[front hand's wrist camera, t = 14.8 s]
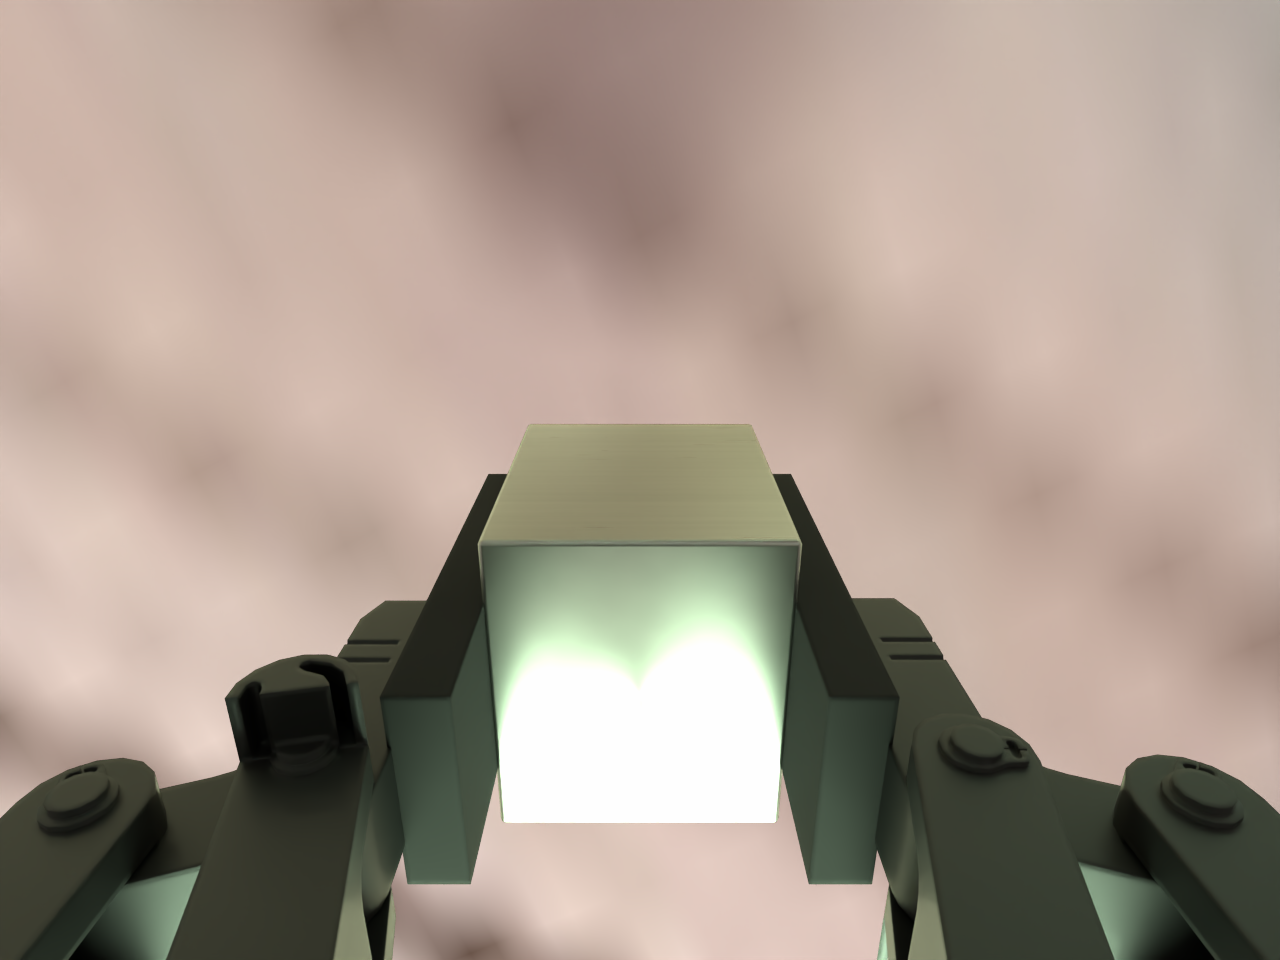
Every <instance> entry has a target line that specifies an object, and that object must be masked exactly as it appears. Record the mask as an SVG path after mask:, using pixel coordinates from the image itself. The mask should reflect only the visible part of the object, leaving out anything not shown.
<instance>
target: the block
mask: <svg viewBox="0 0 1280 960" xmlns="http://www.w3.org/2000/svg"><path fill="white" fill-rule="evenodd" d="M801 551H802V543H801V540H800V538H799V535H798V533H797V531H796V528H795V526H794V524H793V521H792V519H791V517H790V514H789V512H788V510H787V507H786V505H785V503H784V500H783V498H782V496H781V493H780V491H779V489H778V486H777V484H776V482H775V479H774V477H773V475H772V472H771V470H770V468H769V465H768V463H767V461H766V458H765V456H764V454H763V451H762V449H761V447H760V444H759V442H758V440H757V437H756V435H755V433H754V430H753V428H752V426H751V425H749V424H530V425H528V428H527V430H526V432H525V435H524V437H523V439H522V442H521V444H520V446H519V449H518V451H517V453H516V456H515V458H514V460H513V463H512V465H511V467H510V470H509V472H508V474H507V477H506V479H505V481H504V484H503V486H502V488H501V491H500V493H499V495H498V498H497V500H496V502H495V505H494V507H493V509H492V512H491V514H490V516H489V519H488V521H487V523H486V526H485V528H484V530H483V533H482V535H481V537H480V540H479V542H478V553H479V565H480V576H481V588H482V600H483V603H484V615H485V627H486V639H487V650H488V662H489V674H490V685H491V697H492V709H493V721H494V732H495V744H496V756H497V768H498V769H497V776H498V787H499V799H500V811H501V818H502V821H503V822H554V823H774V822H777V820H778V817H779V805H780V794H781V782H782V762H783V750H784V738H785V727H786V715H787V703H788V691H789V680H790V668H791V656H792V645H793V633H794V621H795V609H796V603H797V597H798V585H799V574H800V562H801Z"/></svg>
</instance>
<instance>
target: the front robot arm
mask: <svg viewBox="0 0 1280 960" xmlns="http://www.w3.org/2000/svg"><path fill="white" fill-rule="evenodd" d="M772 475H773V477H774V479H775V482H776V484H777V486H778V489H779V491H780V493H781V496H782V498H783V500H784V503H785V505H786V507H787V510H788V512H789V514H790V517H791V519H792V521H793V524H794V526H795V528H796V531H797V533H798V535H799V538H800V540H801V543H802V551H801V562H800V574H799V585H798V597H797V603H796V609H795V621H794V633H793V645H792V656H791V668H790V680H789V691H788V703H787V715H786V727H785V738H784V750H783V762H782V772H783V776H784V780H785V784H786V789H787V793H788V797H789V801H790V806H791V810H792V814H793V818H794V823H795V827H796V831H797V835H798V840H799V844H800V848H801V852H802V857H803V861H804V865H805V870H806V874H807V878H808V882H809V884H872V880H873V873H874V867H875V860H876V853H877V850H878V853H879V856H880V859H881V862H882V865H883V868H884V870H885V873H886V876H887V879H888V882H889V888H888V895H887V901H886V907H885V913H884V919H883V926H882V932H881V938H880V944H879V951H878V957H877V960H1280V814H1279V813H1278V812H1277V811H1276V810H1275V809H1274V808H1273V807H1272V806H1271V805H1270V804H1269V803H1268V802H1267V801H1266V800H1265V799H1263V798H1262V797H1261V796H1260V795H1258V794H1257V793H1256V792H1254V791H1253V790H1252V789H1251V788H1249V787H1248V786H1247V785H1245V784H1244V783H1243V782H1241V781H1240V780H1238V779H1236V778H1234V777H1232V776H1230V775H1228V774H1226V773H1224V772H1222V771H1220V770H1218V769H1217V768H1215V767H1213V766H1210V765H1206V764H1204V763H1201V762H1197V761H1194V760H1190V759H1187V758H1184V757H1175V756H1166V755H1153V756H1147V757H1142V758H1137V759H1136V760H1135V761H1134V762H1133V763H1132V764H1130V765H1129V766H1128V767H1127V768H1126V770H1125V773H1124V777H1123V780H1122V784H1121V786H1118V785H1114V784H1109V783H1105V782H1100V781H1096V780H1091V779H1087V778H1082V777H1078V776H1073V775H1069V774H1065V773H1062V772H1058V771H1055V770H1051V769H1048V768H1045V767H1043V766H1042V764H1041V762H1040V760H1039V758H1038V757H1037V755H1036V754H1035V752H1034V751H1033V749H1032V748H1031V746H1030V745H1029V744H1028V743H1027V742H1026V741H1024V740H1023V739H1022V738H1021V737H1019V736H1018V735H1017V734H1016V733H1014V732H1013V731H1012V730H1010V729H1008V728H1006V727H1004V726H1002V725H999V724H997V723H995V722H993V721H991V720H989V719H985V718H982V717H981V716H980V714H979V712H978V711H977V709H976V708H975V706H974V704H973V703H972V701H971V700H970V698H969V696H968V695H967V693H966V691H965V690H964V688H963V687H962V685H961V683H960V682H959V680H958V678H957V677H956V675H955V674H954V672H953V670H952V669H951V667H950V666H949V664H948V662H947V661H946V660H943V654H942V653H941V651H940V649H939V648H938V646H937V645H936V643H935V642H933V641H932V636H931V635H930V633H929V632H928V630H927V628H926V627H925V625H924V624H923V622H922V620H921V619H920V617H919V616H918V615H916V614H915V613H914V612H912V611H911V610H910V609H908V608H907V607H905V606H904V605H903V604H901V603H900V602H899V601H897V600H896V599H894V598H851V596H850V594H849V592H848V590H847V588H846V586H845V584H844V582H843V580H842V578H841V576H840V574H839V572H838V570H837V568H836V566H835V563H834V561H833V559H832V557H831V555H830V553H829V551H828V549H827V547H826V545H825V543H824V541H823V539H822V537H821V535H820V533H819V531H818V529H817V527H816V525H815V522H814V520H813V518H812V516H811V514H810V512H809V510H808V508H807V506H806V504H805V502H804V500H803V498H802V496H801V494H800V492H799V490H798V488H797V486H796V484H795V481H794V479H793V477H792V475H791V474H772ZM506 477H507V474H488V476H487V478H486V480H485V482H484V484H483V487H482V489H481V491H480V493H479V495H478V497H477V499H476V501H475V503H474V505H473V507H472V509H471V511H470V513H469V515H468V517H467V519H466V521H465V523H464V525H463V527H462V530H461V532H460V534H459V536H458V538H457V540H456V542H455V544H454V546H453V548H452V550H451V552H450V554H449V556H448V558H447V560H446V562H445V564H444V566H443V568H442V570H441V573H440V575H439V577H438V579H437V581H436V583H435V585H434V587H433V589H432V591H431V593H430V595H429V597H428V599H427V601H384V602H383V603H382V604H380V605H379V606H378V607H376V608H375V609H374V610H372V611H371V612H370V613H368V614H367V615H365V616H364V617H363V618H361V619H360V621H359V622H358V624H357V626H356V627H355V629H354V631H353V632H352V634H351V635H350V637H349V639H348V643H347V645H344V647H343V649H342V650H341V652H340V653H339V655H338V657H334V656H330V655H300V656H296V657H291V658H286V659H281V660H278V661H276V662H273V663H271V664H268V665H266V666H264V667H261V668H259V669H256V670H255V671H253V672H252V673H250V674H249V675H247V676H246V677H245V678H243V679H242V680H240V681H239V682H237V683H236V684H235V686H234V687H233V688H232V690H231V691H230V692H229V694H228V695H227V696H226V698H225V701H226V705H227V710H228V714H229V718H230V722H231V726H232V731H233V735H234V739H235V743H236V747H237V752H238V756H239V760H240V763H239V766H238V768H237V770H235V771H232V772H229V773H226V774H222V775H219V776H215V777H212V778H207V779H203V780H198V781H194V782H189V783H185V784H180V785H176V786H171V787H167V788H162V789H159V786H158V782H157V779H156V776H155V772H154V771H153V770H152V769H151V768H150V767H148V766H147V765H146V764H145V763H144V762H142V761H136V760H131V759H126V758H118V759H108V760H99V761H94V762H91V763H88V764H84V765H82V766H78V767H75V768H72V769H69V770H67V771H65V772H63V773H61V774H59V775H57V776H55V777H53V778H51V779H49V780H47V781H45V782H43V783H41V784H40V785H38V786H37V787H36V788H34V789H33V790H32V791H31V792H29V793H28V794H27V795H25V796H24V797H23V798H22V799H20V800H19V801H18V802H17V803H15V804H14V805H13V806H12V807H11V808H10V809H9V810H8V811H7V812H6V813H5V814H4V815H3V816H2V817H1V818H0V960H392V955H393V944H394V933H395V921H396V914H395V907H394V901H393V895H392V888H391V884H392V881H393V879H394V876H395V873H396V870H397V867H398V864H399V861H400V858H401V855H402V852H403V857H404V863H405V870H406V877H407V883H408V884H471V880H472V876H473V872H474V867H475V863H476V859H477V854H478V850H479V846H480V842H481V837H482V833H483V829H484V825H485V820H486V816H487V812H488V808H489V803H490V799H491V795H492V791H493V786H494V782H495V778H496V774H497V769H498V768H497V756H496V744H495V732H494V721H493V709H492V697H491V685H490V674H489V662H488V650H487V639H486V627H485V615H484V603H483V600H482V588H481V576H480V565H479V553H478V542H479V540H480V537H481V535H482V533H483V530H484V528H485V526H486V523H487V521H488V519H489V516H490V514H491V512H492V509H493V507H494V505H495V502H496V500H497V498H498V495H499V493H500V491H501V488H502V486H503V484H504V481H505V479H506Z"/></svg>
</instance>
